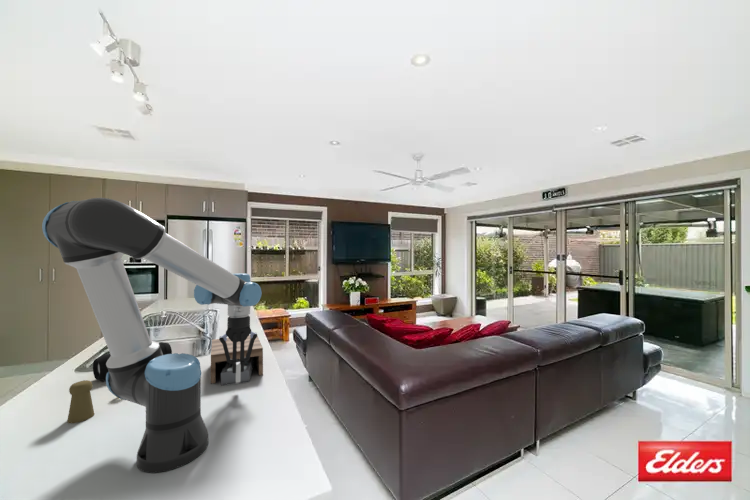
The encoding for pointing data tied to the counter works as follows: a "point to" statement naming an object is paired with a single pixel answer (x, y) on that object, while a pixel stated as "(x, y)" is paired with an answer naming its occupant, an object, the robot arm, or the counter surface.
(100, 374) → the portable speaker
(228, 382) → the tray
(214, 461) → the counter surface
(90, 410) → the cork
